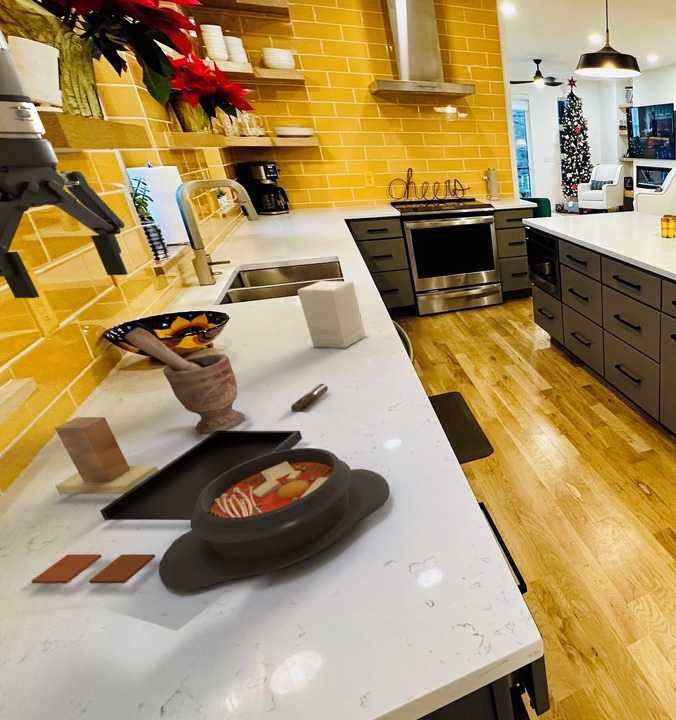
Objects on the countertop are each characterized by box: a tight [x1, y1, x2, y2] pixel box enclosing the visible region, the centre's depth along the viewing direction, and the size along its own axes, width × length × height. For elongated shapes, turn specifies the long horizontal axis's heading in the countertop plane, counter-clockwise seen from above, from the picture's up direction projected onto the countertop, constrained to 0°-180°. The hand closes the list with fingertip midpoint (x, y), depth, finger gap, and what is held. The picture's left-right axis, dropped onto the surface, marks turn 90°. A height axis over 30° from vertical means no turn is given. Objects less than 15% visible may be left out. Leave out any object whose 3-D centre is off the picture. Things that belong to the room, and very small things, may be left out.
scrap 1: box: [30, 553, 102, 584], centre depth 59 cm, size 4×4×2 cm
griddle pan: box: [99, 383, 329, 521], centre depth 84 cm, size 14×39×3 cm, turn 0°
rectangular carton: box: [296, 280, 367, 349], centre depth 126 cm, size 9×9×15 cm
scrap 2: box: [88, 553, 156, 584], centre depth 59 cm, size 4×4×2 cm
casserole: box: [158, 447, 390, 591], centre depth 64 cm, size 25×19×8 cm
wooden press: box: [54, 416, 160, 494], centre depth 72 cm, size 10×5×11 cm, turn 90°
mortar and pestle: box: [124, 326, 246, 435], centre depth 85 cm, size 12×9×20 cm
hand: (76, 285), depth 78 cm, fingers open, 13 cm apart
